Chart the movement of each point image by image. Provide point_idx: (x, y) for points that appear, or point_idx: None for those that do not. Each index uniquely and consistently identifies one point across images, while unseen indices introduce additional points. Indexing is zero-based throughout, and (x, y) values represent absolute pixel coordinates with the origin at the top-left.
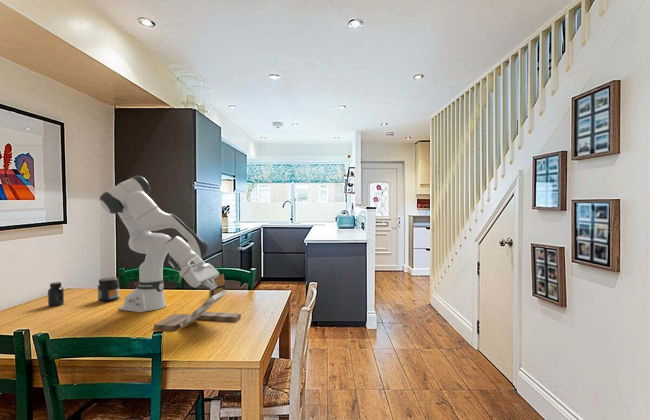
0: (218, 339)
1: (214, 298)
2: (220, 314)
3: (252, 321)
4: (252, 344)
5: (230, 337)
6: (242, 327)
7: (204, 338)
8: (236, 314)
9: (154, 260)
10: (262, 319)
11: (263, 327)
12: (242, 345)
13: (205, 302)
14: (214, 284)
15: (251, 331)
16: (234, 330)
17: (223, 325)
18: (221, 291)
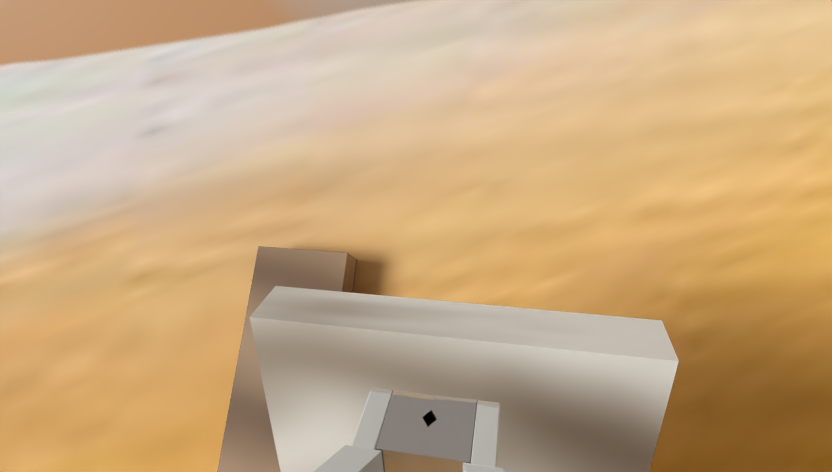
0: (747, 249)
1: (650, 327)
2: None
3: (348, 147)
4: (784, 6)
5: (689, 181)
6: (477, 171)
7: (750, 363)
8: (278, 271)
9: None
10: (306, 97)
11: (465, 42)
12: (817, 56)
13: (648, 465)
14: (399, 432)
15: (550, 88)
16: (545, 204)
17: None
18: (355, 326)
